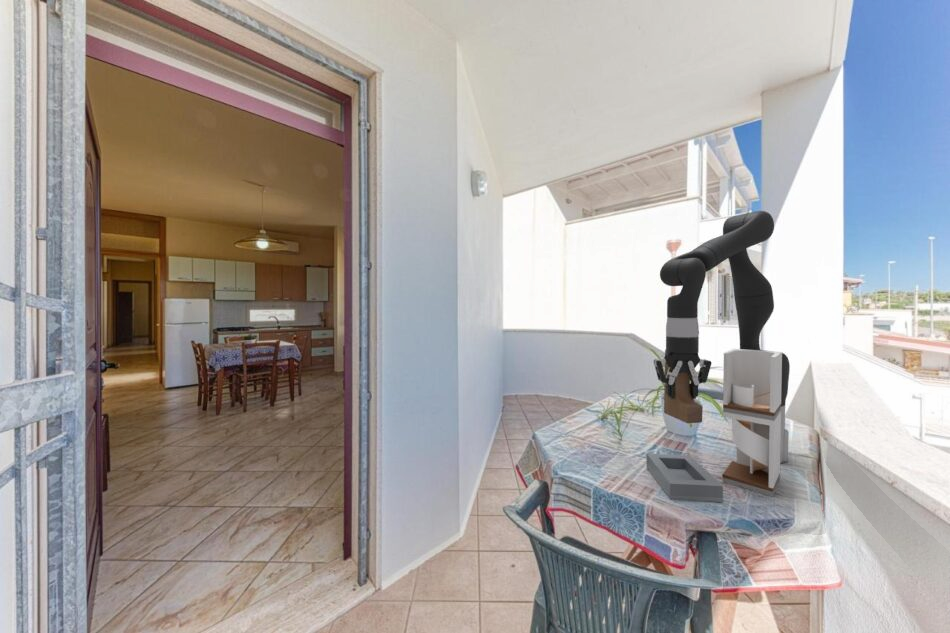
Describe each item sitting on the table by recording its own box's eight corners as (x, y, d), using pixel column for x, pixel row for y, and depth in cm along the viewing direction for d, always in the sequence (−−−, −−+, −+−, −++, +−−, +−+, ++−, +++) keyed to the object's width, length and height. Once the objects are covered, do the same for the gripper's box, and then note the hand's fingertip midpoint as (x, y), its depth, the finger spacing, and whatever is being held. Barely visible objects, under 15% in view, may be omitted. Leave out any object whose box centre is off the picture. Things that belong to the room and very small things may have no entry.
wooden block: (702, 422, 92) (704, 353, 91) (687, 423, 91) (688, 353, 90) (677, 412, 101) (678, 348, 100) (663, 413, 100) (664, 349, 99)
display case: (732, 467, 105) (733, 348, 103) (779, 480, 97) (782, 352, 96) (722, 481, 97) (723, 353, 96) (772, 496, 89) (775, 357, 88)
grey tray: (689, 468, 105) (690, 455, 104) (722, 502, 87) (722, 486, 87) (646, 466, 106) (646, 453, 106) (670, 499, 89) (670, 483, 89)
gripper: (704, 333, 98) (703, 394, 98) (648, 333, 100) (648, 394, 100) (718, 335, 90) (718, 402, 91) (658, 336, 92) (658, 401, 93)
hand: (681, 397), depth 96 cm, fingers closed on wooden block, 4 cm apart
